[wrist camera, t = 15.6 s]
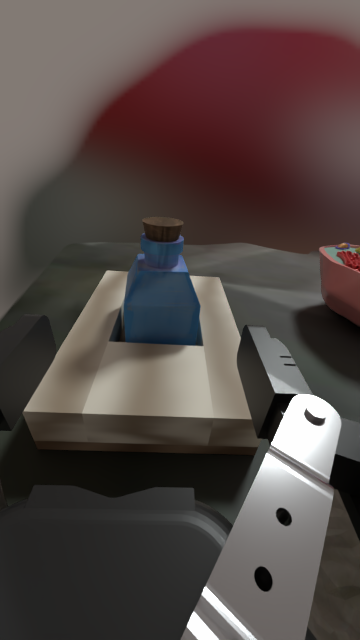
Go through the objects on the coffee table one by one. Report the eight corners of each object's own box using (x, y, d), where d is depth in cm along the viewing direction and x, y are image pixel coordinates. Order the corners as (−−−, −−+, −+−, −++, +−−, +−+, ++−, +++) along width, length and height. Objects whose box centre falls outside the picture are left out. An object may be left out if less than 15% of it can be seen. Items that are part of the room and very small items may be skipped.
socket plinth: (214, 303, 36) (219, 277, 34) (254, 455, 18) (269, 419, 16) (109, 297, 36) (107, 270, 33) (37, 449, 17) (21, 411, 15)
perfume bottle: (193, 362, 24) (210, 233, 18) (126, 364, 23) (119, 229, 17) (184, 325, 29) (195, 215, 23) (129, 326, 28) (124, 211, 22)
